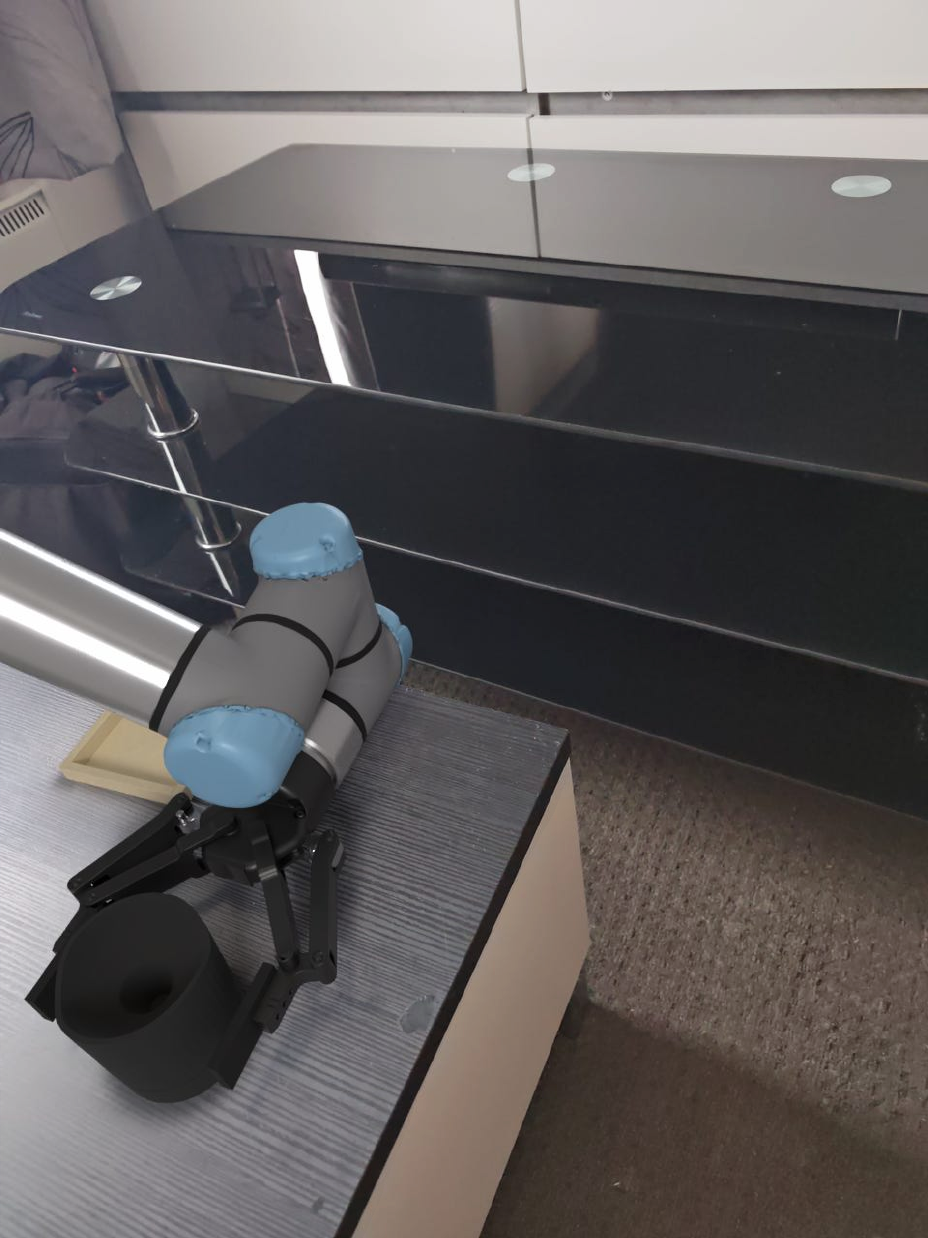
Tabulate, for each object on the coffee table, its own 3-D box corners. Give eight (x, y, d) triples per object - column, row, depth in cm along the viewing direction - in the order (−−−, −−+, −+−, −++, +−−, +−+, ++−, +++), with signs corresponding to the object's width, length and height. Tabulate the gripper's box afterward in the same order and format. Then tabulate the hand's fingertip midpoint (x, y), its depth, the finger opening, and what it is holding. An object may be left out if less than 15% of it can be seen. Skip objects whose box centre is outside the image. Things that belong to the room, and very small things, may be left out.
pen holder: (282, 992, 62) (235, 915, 55) (205, 1135, 56) (142, 1068, 49) (172, 952, 65) (115, 876, 59) (88, 1083, 59) (14, 1014, 53)
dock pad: (68, 781, 79) (57, 767, 78) (152, 678, 88) (143, 663, 86) (186, 811, 75) (177, 797, 73) (263, 699, 83) (256, 684, 82)
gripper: (454, 833, 67) (322, 1136, 53) (176, 767, 76) (0, 1012, 62) (436, 768, 62) (285, 1084, 48) (140, 706, 71) (-59, 957, 57)
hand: (124, 1044), depth 55 cm, fingers open, 13 cm apart
